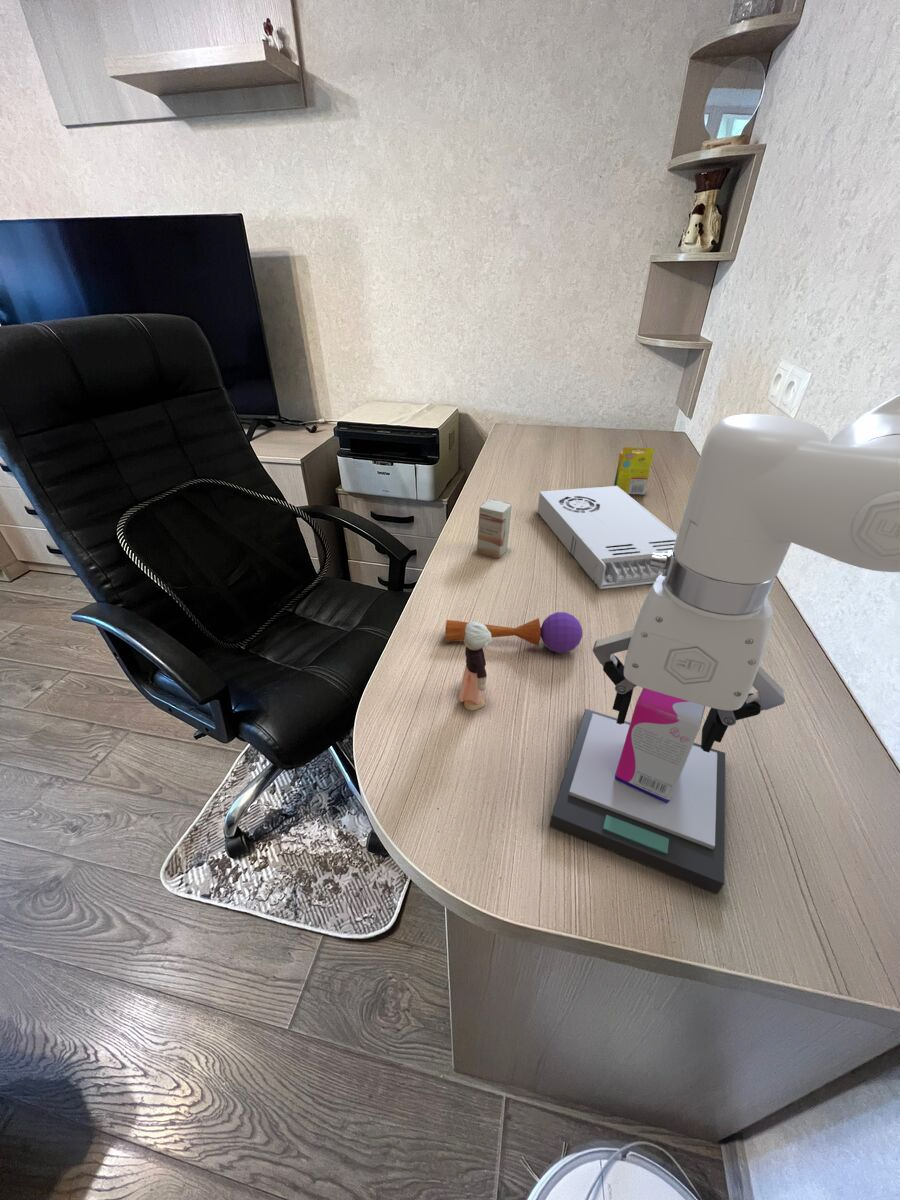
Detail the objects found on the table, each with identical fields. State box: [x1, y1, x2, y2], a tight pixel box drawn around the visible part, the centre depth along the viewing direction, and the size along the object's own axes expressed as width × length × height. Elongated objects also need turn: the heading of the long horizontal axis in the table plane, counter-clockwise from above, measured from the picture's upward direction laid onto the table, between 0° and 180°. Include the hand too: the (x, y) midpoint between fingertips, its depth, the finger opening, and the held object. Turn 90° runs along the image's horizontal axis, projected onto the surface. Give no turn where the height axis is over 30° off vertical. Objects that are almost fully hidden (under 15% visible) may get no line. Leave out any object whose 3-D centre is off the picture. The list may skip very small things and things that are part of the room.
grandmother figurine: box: [458, 620, 493, 712], centre depth 63 cm, size 8×4×13 cm, turn 21°
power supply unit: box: [537, 485, 678, 590], centre depth 102 cm, size 19×33×5 cm, turn 11°
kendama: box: [444, 611, 583, 654], centre depth 75 cm, size 6×6×20 cm
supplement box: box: [615, 687, 706, 803], centre depth 51 cm, size 6×6×12 cm
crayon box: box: [613, 446, 655, 496], centre depth 122 cm, size 7×3×12 cm, turn 84°
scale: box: [549, 708, 726, 895], centre depth 54 cm, size 16×16×3 cm
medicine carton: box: [476, 498, 513, 560], centre depth 97 cm, size 5×4×10 cm
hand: (662, 726), depth 50 cm, fingers open, 7 cm apart
